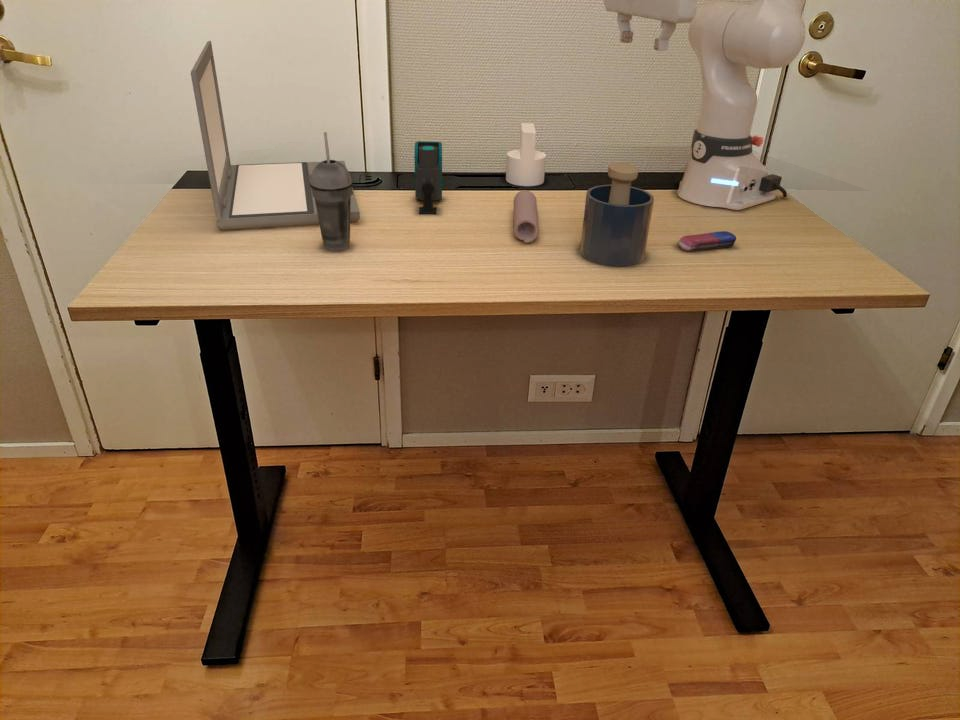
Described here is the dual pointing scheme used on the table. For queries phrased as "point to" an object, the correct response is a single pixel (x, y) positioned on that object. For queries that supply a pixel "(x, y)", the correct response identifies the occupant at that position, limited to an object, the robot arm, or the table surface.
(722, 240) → the eraser
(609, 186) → the open cylindrical bucket
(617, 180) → the handle
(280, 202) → the laptop
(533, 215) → the coil
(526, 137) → the cylinder with rectangular tab
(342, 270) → the table surface
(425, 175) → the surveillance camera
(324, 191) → the beverage cup
